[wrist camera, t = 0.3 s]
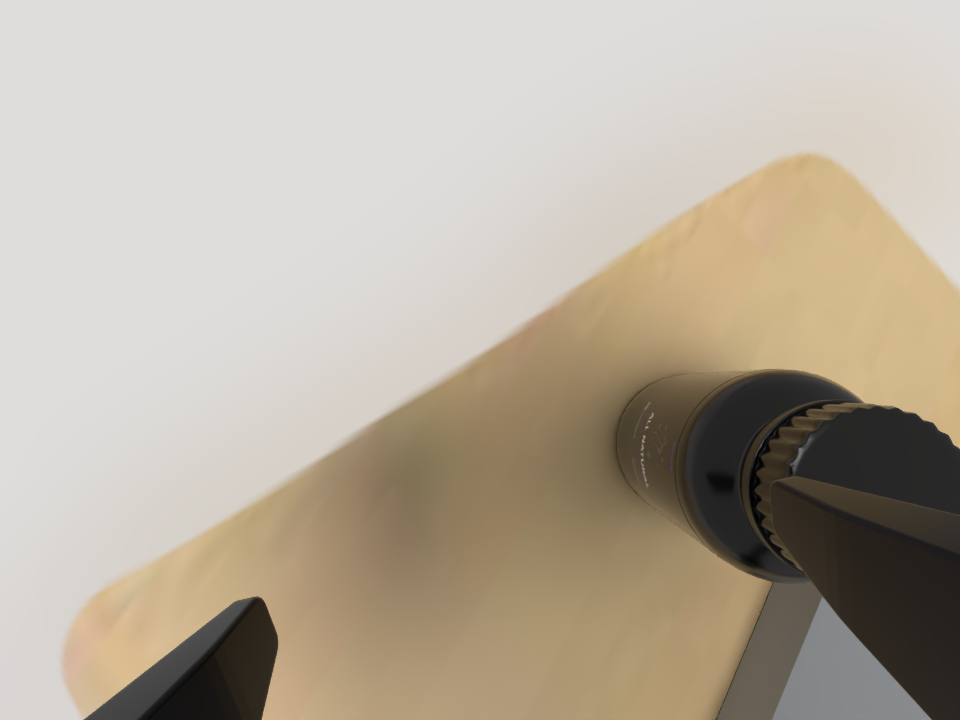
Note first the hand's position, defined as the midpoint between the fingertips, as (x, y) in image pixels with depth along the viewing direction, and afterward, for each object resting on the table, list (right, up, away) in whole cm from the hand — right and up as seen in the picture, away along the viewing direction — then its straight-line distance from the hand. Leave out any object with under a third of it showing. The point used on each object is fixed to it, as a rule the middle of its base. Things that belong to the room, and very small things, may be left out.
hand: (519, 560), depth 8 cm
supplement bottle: (+9, -1, +15) cm, 18 cm away
